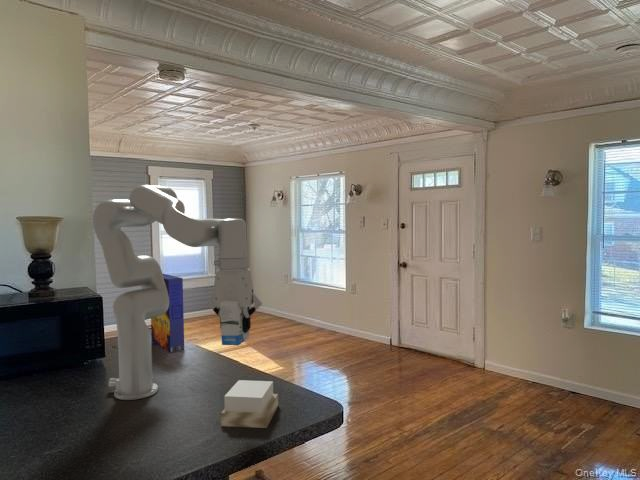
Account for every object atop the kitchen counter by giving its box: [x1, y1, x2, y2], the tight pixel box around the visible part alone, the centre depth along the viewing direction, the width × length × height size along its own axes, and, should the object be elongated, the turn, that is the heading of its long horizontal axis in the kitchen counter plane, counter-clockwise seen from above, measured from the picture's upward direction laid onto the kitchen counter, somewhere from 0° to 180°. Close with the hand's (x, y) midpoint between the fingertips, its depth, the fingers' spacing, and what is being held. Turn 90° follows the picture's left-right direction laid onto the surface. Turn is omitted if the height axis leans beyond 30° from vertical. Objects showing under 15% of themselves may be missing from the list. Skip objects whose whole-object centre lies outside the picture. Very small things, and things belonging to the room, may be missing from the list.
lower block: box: [220, 393, 279, 429], centre depth 125 cm, size 12×14×4 cm
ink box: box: [220, 300, 250, 346], centre depth 124 cm, size 9×5×12 cm, turn 168°
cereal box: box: [150, 273, 185, 354], centre depth 194 cm, size 22×6×30 cm, turn 39°
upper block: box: [224, 379, 274, 413], centre depth 125 cm, size 10×12×4 cm
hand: (235, 330), depth 124 cm, fingers closed on ink box, 5 cm apart
